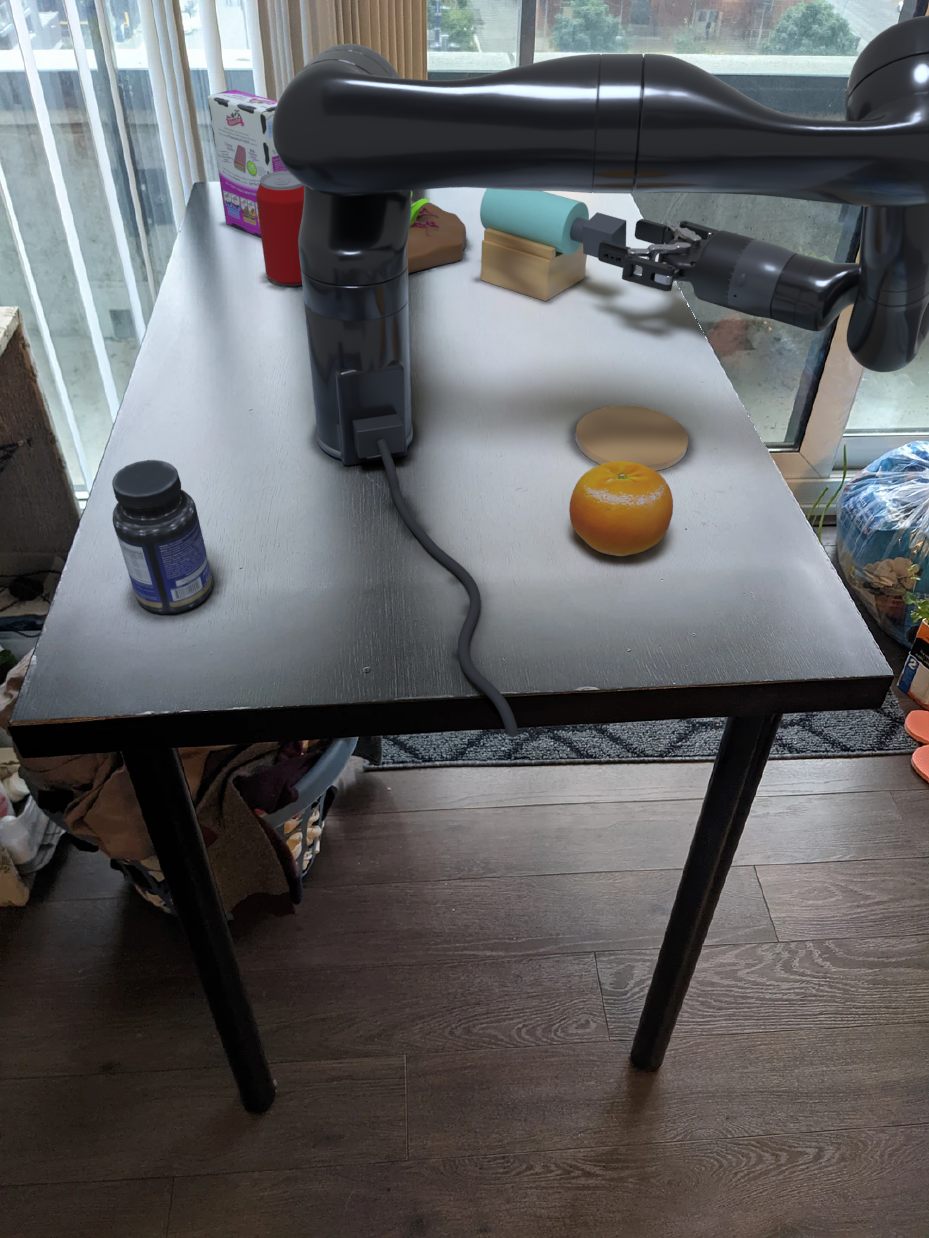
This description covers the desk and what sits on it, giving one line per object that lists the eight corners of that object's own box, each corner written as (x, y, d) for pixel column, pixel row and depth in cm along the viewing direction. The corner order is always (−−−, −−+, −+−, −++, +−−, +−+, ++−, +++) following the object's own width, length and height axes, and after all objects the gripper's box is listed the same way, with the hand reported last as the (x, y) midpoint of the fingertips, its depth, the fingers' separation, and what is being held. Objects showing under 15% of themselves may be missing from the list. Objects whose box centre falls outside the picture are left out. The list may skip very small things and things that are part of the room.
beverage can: (325, 268, 123) (317, 170, 115) (313, 290, 118) (304, 190, 110) (273, 265, 123) (262, 168, 115) (260, 287, 118) (247, 187, 110)
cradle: (584, 278, 122) (589, 229, 118) (545, 301, 117) (549, 251, 112) (520, 258, 126) (523, 210, 122) (480, 280, 121) (481, 231, 117)
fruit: (623, 458, 85) (627, 421, 77) (689, 526, 83) (699, 495, 75) (551, 518, 85) (548, 487, 77) (615, 588, 83) (619, 563, 75)
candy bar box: (304, 235, 131) (292, 104, 120) (277, 245, 128) (261, 112, 117) (251, 214, 136) (235, 87, 125) (224, 224, 133) (204, 94, 122)
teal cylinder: (632, 251, 114) (633, 204, 109) (605, 278, 112) (605, 231, 107) (509, 215, 122) (505, 170, 117) (482, 239, 119) (477, 194, 115)
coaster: (707, 462, 91) (708, 455, 91) (602, 480, 89) (603, 473, 88) (656, 405, 99) (657, 398, 98) (558, 421, 96) (559, 414, 96)
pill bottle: (215, 564, 79) (191, 451, 71) (212, 613, 74) (186, 498, 67) (139, 570, 78) (107, 456, 71) (131, 620, 74) (95, 505, 66)
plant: (489, 262, 125) (492, 173, 117) (347, 284, 119) (340, 191, 112) (434, 210, 138) (433, 127, 131) (303, 227, 133) (295, 141, 125)
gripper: (710, 331, 102) (583, 289, 109) (765, 287, 111) (643, 252, 118) (725, 262, 97) (590, 223, 104) (781, 222, 106) (653, 189, 113)
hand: (618, 238), depth 111 cm, fingers open, 8 cm apart
